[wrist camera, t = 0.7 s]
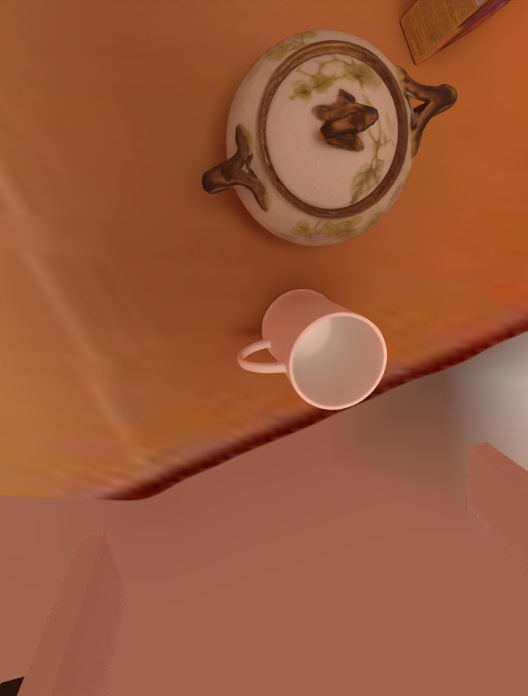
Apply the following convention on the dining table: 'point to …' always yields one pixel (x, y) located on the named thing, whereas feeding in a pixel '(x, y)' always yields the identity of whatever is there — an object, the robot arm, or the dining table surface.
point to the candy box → (444, 23)
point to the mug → (320, 349)
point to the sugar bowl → (323, 137)
